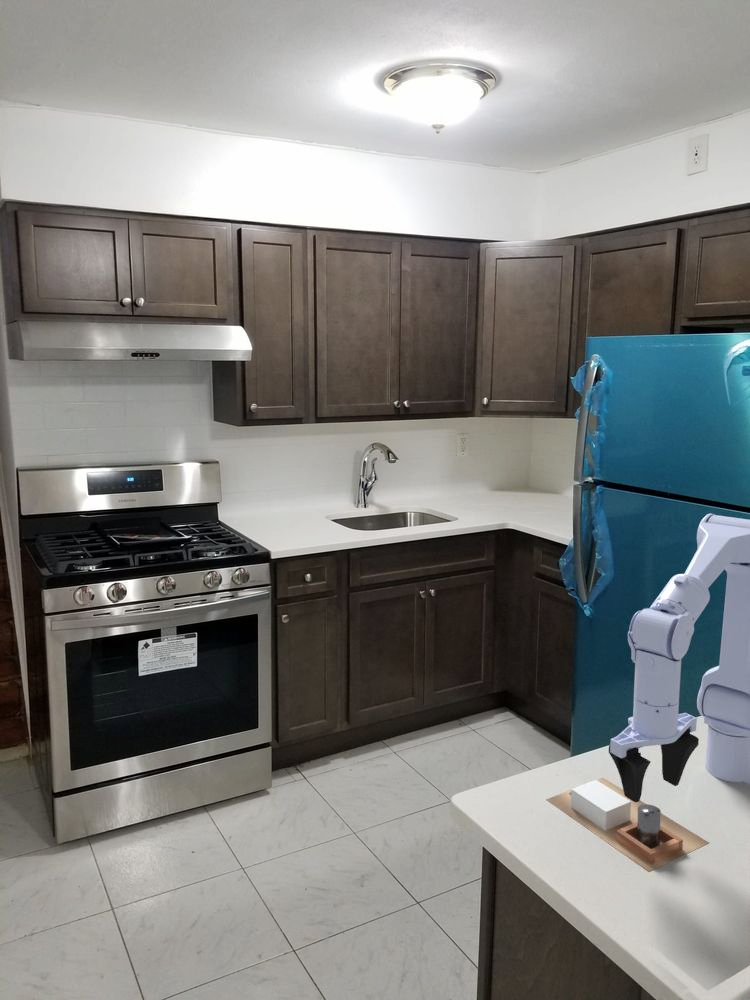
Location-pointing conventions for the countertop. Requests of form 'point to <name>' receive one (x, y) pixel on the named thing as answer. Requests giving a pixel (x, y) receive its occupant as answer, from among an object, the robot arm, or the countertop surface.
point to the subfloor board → (625, 835)
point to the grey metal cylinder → (649, 825)
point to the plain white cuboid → (600, 804)
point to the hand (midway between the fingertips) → (651, 790)
